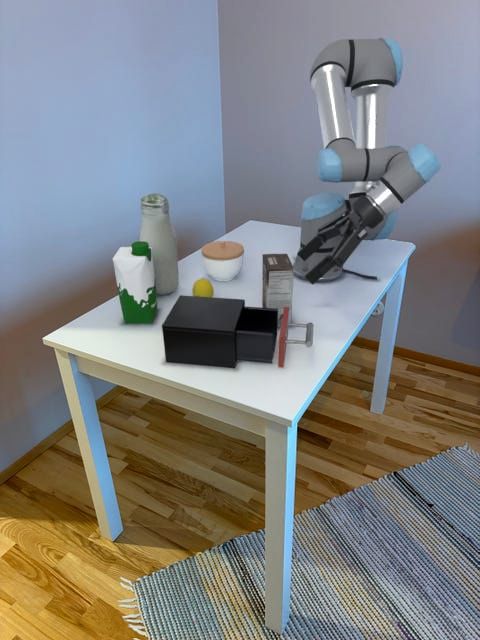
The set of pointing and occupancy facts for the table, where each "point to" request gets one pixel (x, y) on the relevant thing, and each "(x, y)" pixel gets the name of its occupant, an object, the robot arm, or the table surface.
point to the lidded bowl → (222, 259)
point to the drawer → (265, 335)
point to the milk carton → (136, 282)
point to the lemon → (203, 288)
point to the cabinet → (202, 331)
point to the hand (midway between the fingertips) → (304, 268)
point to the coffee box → (277, 283)
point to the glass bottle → (160, 241)
